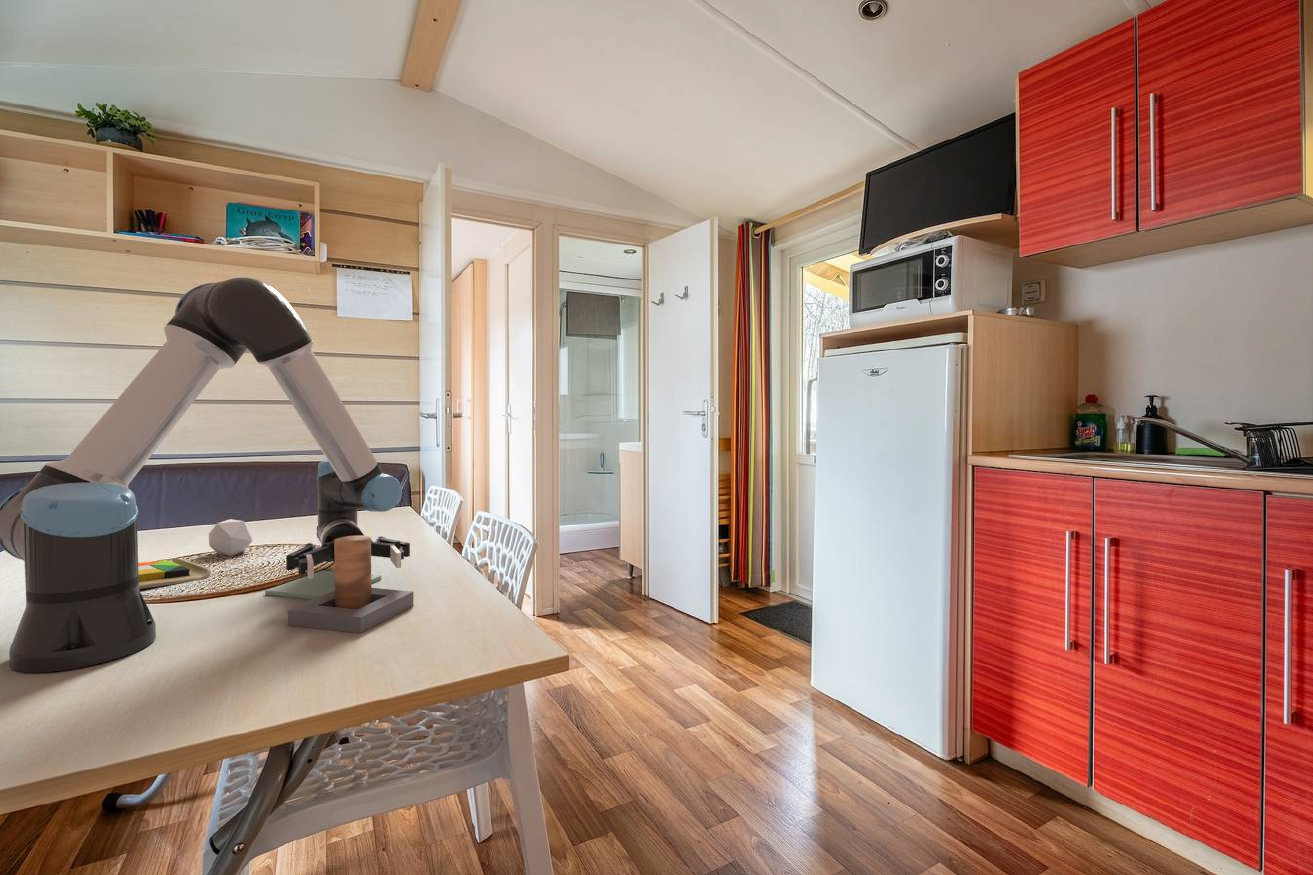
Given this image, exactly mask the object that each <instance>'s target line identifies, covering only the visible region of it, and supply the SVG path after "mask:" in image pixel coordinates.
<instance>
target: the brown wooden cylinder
mask: <svg viewBox="0 0 1313 875" xmlns="http://www.w3.org/2000/svg"><path fill="white" fill-rule="evenodd" d="M371 540H372V537H371V536H369V535H364V536H360V535H359V536H346V537H341V538H337V539H335V540H334V554H335V562H334V572H335V607H337V608H347V609H359V608H362V607H364V606H366V605H368V604H370V603H372V592H371V588H372V584H371V575H372V556H371Z"/></svg>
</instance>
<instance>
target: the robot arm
mask: <svg viewBox="0 0 1313 875" xmlns="http://www.w3.org/2000/svg"><path fill="white" fill-rule="evenodd" d="M163 331H164V333H165V337H166V338H165V339H166V341H165V343H164V344H163V345H161V347H160V348H159V349H158V350H157V352H155V354H154V356H153V357H152V358H151V359H150V360H149V361H148V363H147V364H146V365H145V366H144V367H143V368H142V369H141V370H140V372H139V373H138V374H137V375H136V377H134V379H133V380H132V381H131V383H130V384H129V385H128V386H127V387H126V388H125V389H124V390H123V392H122V393H121V394H120V395H119V397H118V398H117V399H116V400H115V401H114V403H112V404H111V406H110V407H109V408H108V409H107V411H105V413H104V414H103V415H102V416H101V418H99V420H98V421H97V422H96V423H95V424H94V426H92V428H90V430H89V432H88V433H87V434H86V435H85V436H84V437H83V439H82V440H81V441H80V442H79V444H77V445H76V447H75V448H74V449H73V450H72V452H71V453H70V454H69V455H68V456H67V457H66V458H64V459H62V460H56V461H52V462H46V463H45V464H44V466H42V468H41V469H39V471H38V472H37V473H36V474H35V476H34V477H33V478H32V480H30V481H29V482H28V484H27V485H26V486H25V487H21V488H20V489H18V490H17V491H15V492H13V493H11V494H10V495H9V496H7V497H6V498H5V499H4V500H3V501H2V502H1V503H0V547H1V548H2V550H4V551H5V552H6V553H8V554H9V555H10V556H12V557H14V558H16V559H19V560H22V561H24V580H25V581H24V582H25V602H26V603H25V604H26V605H25V609H24V612H23V613H22V616H21V619H20V622H19V624H18V626H17V629H16V632H15V634H14V637H13V639H12V643H11V644H10V647H9V653H8V655H9V667H10V668H11V669H12V670H14V671H15V672H16V671H17V672H23V673H51V672H60V671H66V670H67V671H68V670H73V669H80V668H85V667H90V666H94V665H98V664H102V663H103V664H104V663H105V662H110V661H114V660H117V659H120V658H123V657H126V656H128V655H131V654H134V653H136V652H138V651H140V650H142V649H143V650H144V649H145V648H146V647H148V646H149V645H150V644H153V642H154V641H155V640H156V638H157V633H156V631H157V630H156V629H157V628H156V622H155V619H154V618H153V614H152V613H151V611H150V609H149V607H148V605H147V603H146V600H145V598H144V596H143V594H142V593H141V589H139V575H138V574H139V573H138V563H139V549H138V547H139V545H138V541H139V540H138V516H139V508H138V506H137V500H136V499H137V498H136V495H135V493H134V492H133V491H132V490H131V489H130V488H129V485H130V483H131V482H132V480H133V479H135V477H136V476H137V474H138V473H139V472H140V471H141V469H142V468H143V467H144V465H145V464H146V463H147V462H148V460H149V459H150V458H151V457H152V455H153V454H154V452H156V450H157V449H158V448H159V446H160V445H161V444H162V443H163V441H164V440H165V439H166V438H167V436H168V435H169V433H170V432H171V431H172V430H173V428H174V427H175V426H176V425H177V424H178V422H179V421H180V419H181V418H182V417H183V416H184V415H185V413H186V412H187V410H188V409H189V408H190V407H191V406H192V405H193V403H194V402H195V401H196V399H197V398H198V397H199V396H200V394H201V393H202V391H204V389H205V388H206V387H207V385H208V384H209V382H210V381H211V380H212V379H213V377H214V376H215V375H216V374H217V373H218V371H220V370H223V369H231V368H233V367H235V365H236V364H237V363H238V362H239V360H240V359H241V358H242V357H243V355H244V354H245V352H246V351H247V350H248V351H249V352H250V353H251V355H252V356H253V357H254V359H255V361H256V362H257V364H258V365H262V366H265V367H267V368H268V369H269V371H270V372H271V373H272V375H273V377H274V378H275V380H276V382H277V383H278V384H279V386H280V387H281V389H282V390H283V392H284V394H285V396H286V397H287V399H288V401H290V403H291V405H292V407H293V408H294V409H295V411H296V413H297V414H298V416H299V418H300V419H301V421H302V422H303V424H304V425H305V427H306V429H307V430H308V431H309V433H310V435H311V436H312V438H313V439H314V441H315V442H316V445H317V446H318V447H319V449H320V450H321V452H322V453H323V455H324V457H325V458H326V460H325V459H323V460H321V461H320V462H319V463H318V465H317V476H316V481H317V482H316V484H317V488H316V489H317V526H316V536H317V537H316V538H317V539H318V541H319V542H320V545H321V546H317V545H316V544H313V543H311V542H307V543H305V545H304V546H303V547H301V548H299V549H296V550H294V551H292V552H290V553H289V554H287V555H285V557H286V558H285V563H286V564H285V565H286V566H285V567H286V568H285V569H286V570H287V571H293V570H295V569H296V568H297V569H298V574H299V575H303V574H307V576H308V578H309V579H314V573H315V571H314V570H315V566H317V565H319V564H322V563H325V562H326V563H327V562H328V563H332V562H333V563H335V554H334V540H335V539H337V538H341V537H346V536H359V535H360V536H365V534H364V533H363V531H362V530H361V529H360V527H359V526H358V509H359V510H364V511H368V512H378V513H382V512H383V513H384V512H388V511H391V510H393V509H394V508H395V507H397V505H398V504H399V502H400V501H401V498H402V494H403V490H402V484H401V483H400V481H399V480H398V479H397V478H396V477H395V476H392V475H390V474H389V473H388V474H387V473H384V471H383V469H382V467H381V466H380V464H379V463H378V461H377V459H376V458H375V457H376V456H374V454H373V453H372V450H371V449H370V448H369V445H368V444H367V442H366V440H365V439H364V437H363V435H362V434H361V432H360V430H359V428H358V427H357V425H356V423H355V422H354V420H353V418H352V417H351V414H350V413H349V411H348V410H347V408H346V406H345V405H344V402H343V401H342V399H341V398H340V396H339V395H338V392H337V390H336V389H335V387H334V386H333V384H332V382H331V380H330V379H329V377H328V375H327V374H326V372H325V370H324V369H323V367H322V365H321V363H320V361H319V360H318V358H317V357H316V356H317V355H315V352H314V351H313V350H312V347H313V344H314V339H313V338H312V336H311V334H310V332H309V331H308V328H307V327H306V325H305V324H304V322H303V321H302V319H301V317H300V316H299V315H298V313H297V312H296V310H295V309H294V308H293V307H292V305H291V304H290V302H288V300H287V299H286V298H285V297H284V296H283V295H282V294H281V293H280V292H279V291H277V289H275V288H274V287H272V286H271V285H269V284H267V283H266V282H263V281H262V280H258V279H254V278H251V277H234V278H230V279H227V280H223V281H218V282H208V283H203V284H201V285H198V286H195V287H193V288H191V289H190V290H188V291H187V292H186V293H185V294H184V295H183V296H182V297H181V298H180V299H179V300H178V302H177V304H176V307H175V311H174V315H173V316H172V318H171V319H170V320H169V321H168V322H167V324H166V325H165V326H164V327H163ZM410 556H411V543H410V542H406V541H402V540H397V539H393V538H387V537H385V536H378V537H377V538H376V540H374V541H373V540H372V539H371V557H375V558H377V557H378V558H386V559H387V558H388V559H389V560H390V562H391V563H392V564H393V566H395V568H396V569H401V568H402V560H404V558H407V557H410Z"/></svg>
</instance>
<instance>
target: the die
mask: <svg viewBox="0 0 1313 875" xmlns="http://www.w3.org/2000/svg"><path fill="white" fill-rule="evenodd" d="M252 534H253V533H252V529H251V528H250V527H249V526H248V524H247V523H246V521H243V520H238V519H226V520H223V521H221V522H217V523H216V524H215V526H213V528H212V529H211V531H210V532H209V533H208V546H209V547H210V548H211V549H212V550H213V551H214V552H216V553H217V555H223V556H228V557H233V556H235V555H237V554H240V553H241V552H245V550H246V549H247V548H248V547H249V546H250V544H251V543H252V542H253V535H252Z"/></svg>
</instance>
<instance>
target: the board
mask: <svg viewBox="0 0 1313 875" xmlns="http://www.w3.org/2000/svg"><path fill="white" fill-rule="evenodd" d="M381 580H382V575H378V574H371V585H372V584H374V583H377V582H379V581H381ZM333 591H335V570H334V571H333V570H332V571H330V570H320V571H317V572H314V579H309V578H308V575H305V576H303V577H300V578H297V579H295V580H291V581H289V582H286V583H285V582H284V584H280V585H278V586H274V587H271V588H267V589H265V591H264V594H265V595H267V596H275V597H287V598H294V599H296V598H297V599H305V600H313V599H316V598H318V597H321V596H323V595H326V594H328V593H331V592H333Z"/></svg>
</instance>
